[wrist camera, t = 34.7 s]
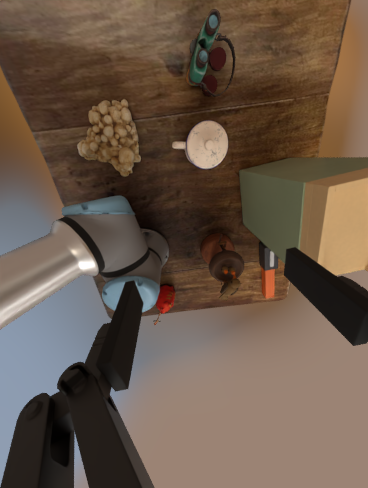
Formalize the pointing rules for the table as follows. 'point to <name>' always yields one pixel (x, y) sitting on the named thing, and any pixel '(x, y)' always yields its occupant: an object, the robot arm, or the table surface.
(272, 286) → the bar
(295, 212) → the drawer stand
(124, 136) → the mineral formation
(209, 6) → the table surface
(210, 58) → the binoculars
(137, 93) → the table surface
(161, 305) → the red clay folk toy
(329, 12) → the table surface
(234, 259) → the music box
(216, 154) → the teacup with lid
